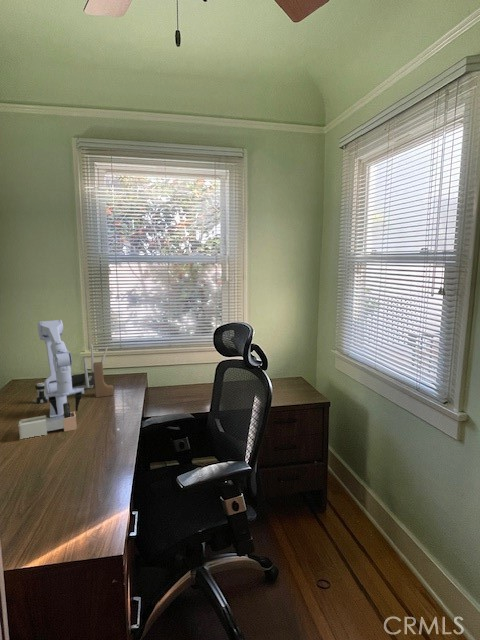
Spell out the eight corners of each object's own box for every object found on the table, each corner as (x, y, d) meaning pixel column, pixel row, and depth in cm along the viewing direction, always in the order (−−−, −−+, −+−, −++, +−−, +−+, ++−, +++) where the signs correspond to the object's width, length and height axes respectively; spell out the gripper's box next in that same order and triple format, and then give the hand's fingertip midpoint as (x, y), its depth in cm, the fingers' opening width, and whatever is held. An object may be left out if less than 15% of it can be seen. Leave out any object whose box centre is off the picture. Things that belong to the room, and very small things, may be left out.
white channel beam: (21, 434, 148) (19, 419, 147) (47, 429, 152) (45, 415, 151) (20, 440, 142) (18, 425, 141) (47, 435, 147) (45, 420, 146)
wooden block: (113, 392, 195) (111, 360, 193) (113, 395, 191) (111, 362, 188) (95, 394, 192) (93, 362, 189) (95, 397, 188) (93, 364, 185)
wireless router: (71, 376, 225) (69, 345, 222) (110, 373, 231) (108, 343, 228) (60, 395, 193) (57, 359, 190) (106, 390, 199) (103, 355, 196)
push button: (32, 405, 179) (30, 385, 177) (35, 401, 184) (33, 382, 182) (47, 403, 181) (45, 384, 179) (49, 399, 186) (47, 381, 184)
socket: (63, 425, 155) (62, 413, 154) (75, 423, 157) (74, 411, 156) (64, 431, 150) (63, 418, 149) (76, 429, 152) (75, 416, 151)
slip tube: (41, 428, 150) (39, 406, 149) (72, 422, 156) (71, 401, 154) (41, 432, 147) (39, 410, 145) (73, 426, 152) (71, 404, 151)
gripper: (44, 386, 143) (47, 418, 145) (83, 381, 150) (86, 411, 152) (44, 381, 149) (47, 412, 151) (82, 376, 156) (84, 406, 158)
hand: (66, 411), depth 152 cm, fingers open, 7 cm apart
